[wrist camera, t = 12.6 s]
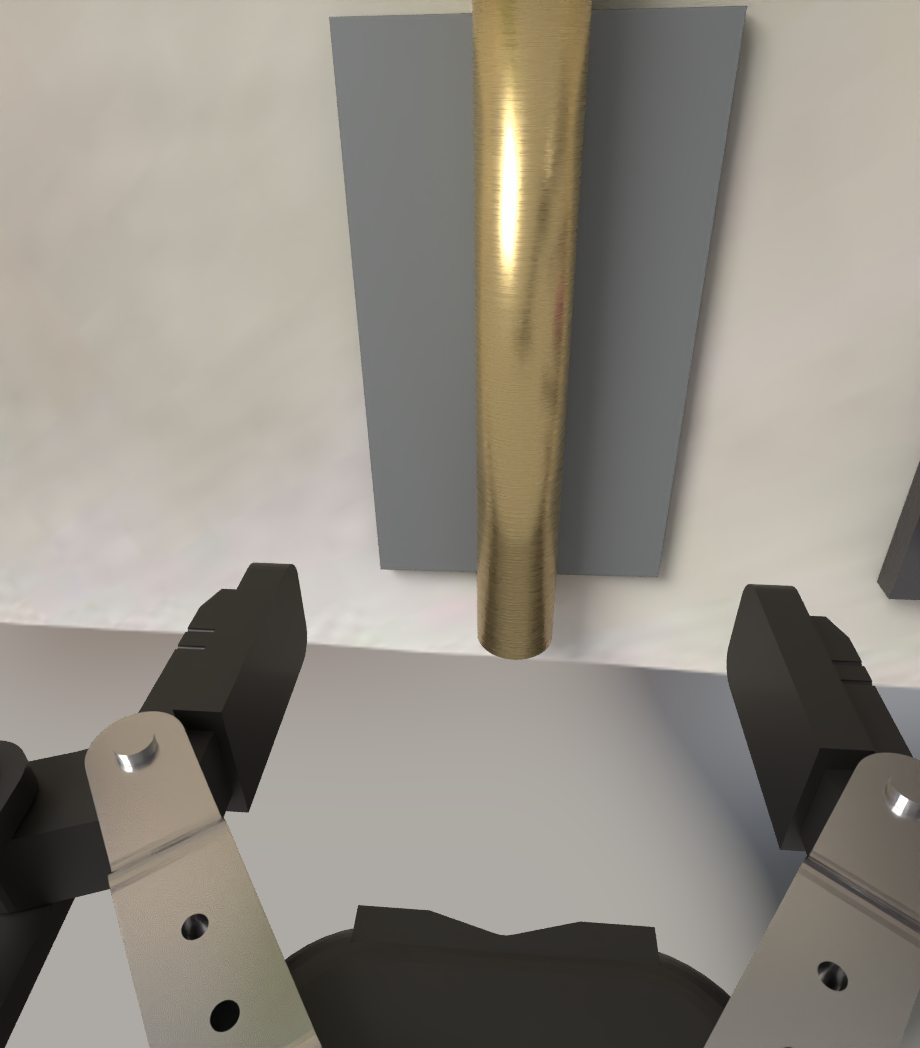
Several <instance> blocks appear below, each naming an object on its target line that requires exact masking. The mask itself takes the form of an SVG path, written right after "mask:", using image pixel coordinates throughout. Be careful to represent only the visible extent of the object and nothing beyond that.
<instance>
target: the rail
mask: <svg viewBox="0 0 920 1048" xmlns="http://www.w3.org/2000/svg"><path fill="white" fill-rule="evenodd" d="M472 8H473V133H474V257H475V382H476V506H477V631H478V639H479V642H480V644H481V645H482V646H483V647H484V648H485V649H486V650H487V651H488V652H490V653H491V654H493V655H496V656H498V657H501V658H505V659H514V660H517V659H527V658H531V657H534V656H536V655H539V654H540V653H542V652H543V651H545V650H546V649H547V648H548V646H549V645H550V643H551V640H552V628H553V612H554V597H555V581H556V565H557V549H558V533H559V517H560V501H561V485H562V469H563V453H564V438H565V422H566V406H567V390H568V374H569V358H570V342H571V326H572V310H573V294H574V278H575V263H576V247H577V231H578V215H579V199H580V183H581V167H582V151H583V135H584V119H585V104H586V88H587V72H588V56H589V40H590V24H591V8H592V0H472Z"/></svg>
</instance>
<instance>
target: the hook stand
mask: <svg viewBox="0 0 920 1048" xmlns="http://www.w3.org/2000/svg"><path fill="white" fill-rule="evenodd" d="M877 582H878V584H879V585H880V587H881V588H882V590H883V591H884V593H885V594H886V595H887V597H888V598H889V599H910V600H920V462H919V465H918V468H917V471H916V474H915V476H914V479H913V482H912V485H911V488H910V490H909V493H908V496H907V499H906V502H905V505H904V507H903V510H902V513H901V516H900V519H899V521H898V524H897V527H896V530H895V533H894V535H893V538H892V541H891V544H890V547H889V550H888V552H887V555H886V558H885V561H884V564H883V566H882V569H881V572H880V575H879V578H878V581H877Z"/></svg>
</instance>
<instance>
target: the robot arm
mask: <svg viewBox="0 0 920 1048" xmlns="http://www.w3.org/2000/svg"><path fill="white" fill-rule="evenodd" d="M306 645H307V628H306V621H305V615H304V609H303V603H302V597H301V591H300V585H299V579H298V573H297V570H296V567H295V566H294V565H293V564H275V563H252V564H251V565H250V566H249V567H248V569H247V571H246V573H245V575H244V576H243V578H242V580H241V582H240V584H239V586H238V588H237V590H236V589H221V590H220V591H219V592H218V593H216V594H215V595H214V596H213V597H211V598H210V599H209V600H208V601H207V602H205V603H204V604H203V605H202V606H200V608H199V610H198V611H197V613H196V615H195V616H194V618H193V620H192V622H191V623H190V625H189V627H188V632H185V634H184V635H183V637H182V639H181V640H180V642H179V644H178V649H175V651H174V653H173V654H172V656H171V658H170V659H169V661H168V663H167V665H166V667H165V668H164V670H163V671H162V673H161V675H160V677H159V678H158V680H157V682H156V683H155V685H154V687H153V689H152V690H151V692H150V694H149V695H148V697H147V699H146V701H145V702H144V704H143V706H142V708H141V709H140V711H139V712H138V713H137V714H133V715H130V716H127V717H124V718H122V719H120V720H118V721H116V722H115V723H113V724H111V725H110V726H108V727H107V728H106V729H104V730H103V731H102V732H101V733H100V734H99V735H98V736H97V737H96V738H95V739H94V741H93V742H92V743H91V745H90V747H89V748H88V749H85V750H82V751H78V752H73V753H69V754H63V755H59V756H54V757H49V758H44V759H39V760H34V761H29V762H28V760H27V758H26V756H25V754H24V753H23V751H22V749H21V748H20V747H19V746H17V745H16V744H14V743H11V742H7V741H0V1048H5V1046H6V1044H7V1041H8V1039H9V1037H10V1035H11V1033H12V1031H13V1029H14V1027H15V1024H16V1022H17V1020H18V1018H19V1016H20V1014H21V1012H22V1010H23V1007H24V1005H25V1003H26V1001H27V999H28V996H29V994H30V992H31V990H32V988H33V986H34V984H35V982H36V980H37V977H38V975H39V973H40V971H41V969H42V967H43V965H44V962H45V960H46V958H47V956H48V954H49V952H50V950H51V947H52V945H53V943H54V941H55V939H56V937H57V935H58V933H59V930H60V928H61V926H62V924H63V922H64V920H65V918H66V915H67V913H68V911H69V909H70V907H71V905H72V903H73V901H74V898H75V897H79V896H83V895H87V894H91V893H95V892H99V891H103V890H107V889H110V890H111V895H112V899H113V903H114V906H115V910H116V915H117V918H118V922H119V926H120V930H121V934H122V939H123V943H124V946H125V951H126V954H127V959H128V962H129V966H130V970H131V974H132V978H133V982H134V987H135V991H136V994H137V998H138V1002H139V1006H140V1010H141V1014H142V1018H143V1022H144V1026H145V1030H146V1034H147V1038H148V1042H149V1046H150V1048H899V1046H900V1043H901V1040H902V1037H903V1034H904V1031H905V1028H906V1025H907V1023H908V1020H909V1016H910V1014H911V1011H912V1008H913V1005H914V1002H915V999H916V996H917V993H918V990H919V987H920V760H918V759H915V758H913V756H912V754H911V753H910V751H909V749H908V747H907V745H906V743H905V741H904V739H903V738H902V736H901V734H900V732H899V730H898V728H897V726H896V725H895V723H894V721H893V719H892V717H891V715H890V713H889V711H888V710H887V708H886V706H885V704H884V702H883V700H882V698H881V697H880V695H879V693H878V691H877V689H876V687H875V686H872V680H871V678H870V676H869V674H868V672H867V670H866V668H865V667H864V666H862V664H861V663H862V661H861V659H860V657H859V655H858V654H857V652H856V650H855V648H854V646H853V644H852V642H851V640H850V639H849V637H848V636H846V635H845V634H844V633H843V632H842V631H841V630H840V629H839V628H838V627H836V626H835V625H834V624H833V623H832V622H831V621H830V620H829V619H828V618H826V617H822V616H810V615H809V613H808V611H807V609H806V607H805V605H804V603H803V601H802V599H801V597H800V595H799V593H798V591H797V589H796V588H795V587H793V586H781V585H756V584H748V585H747V586H746V587H745V588H744V591H743V594H742V597H741V601H740V605H739V609H738V612H737V616H736V620H735V624H734V628H733V632H732V635H731V639H730V643H729V647H728V652H727V677H728V682H729V687H730V690H731V693H732V696H733V699H734V702H735V706H736V709H737V712H738V715H739V719H740V722H741V725H742V728H743V732H744V735H745V738H746V741H747V745H748V748H749V751H750V754H751V757H752V760H753V764H754V767H755V770H756V773H757V777H758V780H759V783H760V786H761V790H762V793H763V796H764V799H765V802H766V806H767V809H768V812H769V816H770V819H771V822H772V825H773V828H774V832H775V835H776V838H777V841H778V845H779V848H780V850H793V851H806V853H807V857H806V858H805V860H804V862H803V863H802V865H801V867H800V869H799V870H798V872H797V874H796V876H795V878H794V880H793V882H792V884H791V885H790V887H789V889H788V891H787V893H786V895H785V897H784V899H783V900H782V902H781V904H780V906H779V908H778V910H777V912H776V913H775V916H774V917H773V919H772V921H771V923H770V925H769V927H768V928H767V930H766V932H765V934H764V936H763V938H762V940H761V941H760V943H759V945H758V947H757V949H756V951H755V953H754V955H753V957H752V958H751V960H750V962H749V964H748V966H747V968H746V970H745V971H744V973H743V975H742V977H741V979H740V981H739V983H738V984H737V986H736V988H735V990H734V992H733V994H732V996H731V997H730V996H729V995H728V994H727V993H726V992H725V991H724V990H723V989H722V988H720V987H719V986H718V985H716V984H715V983H714V982H713V981H711V980H710V979H709V978H707V977H706V976H705V975H703V974H702V973H700V972H698V971H697V970H695V969H693V968H692V967H690V966H689V965H687V964H685V963H683V962H680V961H679V960H677V959H675V958H673V957H670V956H668V955H665V954H663V953H660V952H658V948H657V941H656V934H655V928H654V927H645V926H632V925H619V924H605V923H592V922H591V923H590V922H576V923H571V924H566V925H561V926H555V927H551V928H545V929H540V930H535V931H530V932H525V933H520V934H515V935H508V936H505V935H498V934H495V933H491V932H489V931H486V930H483V929H481V928H478V927H475V926H472V925H469V924H466V923H464V922H461V921H458V920H455V919H452V918H449V917H447V916H444V915H441V914H438V913H435V912H432V911H428V910H415V909H402V908H389V907H375V906H362V905H359V906H358V909H357V914H356V919H355V924H354V929H349V930H344V931H341V932H338V933H335V934H332V935H329V936H326V937H323V938H321V939H319V940H317V941H315V942H313V943H311V944H308V945H307V946H305V947H303V948H302V949H300V950H299V951H297V952H296V953H294V954H292V955H291V956H290V957H288V958H287V959H286V960H284V957H283V955H282V952H281V950H280V948H279V945H278V943H277V941H276V938H275V936H274V934H273V931H272V929H271V926H270V924H269V922H268V919H267V917H266V915H265V912H264V910H263V907H262V905H261V903H260V901H259V898H258V896H257V893H256V891H255V888H254V886H253V884H252V881H251V879H250V877H249V874H248V872H247V870H246V867H245V865H244V862H243V860H242V858H241V855H240V853H239V851H238V848H237V846H236V843H235V841H234V839H233V836H232V834H231V832H230V829H229V827H228V825H227V823H226V821H225V819H224V814H225V812H226V811H234V812H249V810H250V807H251V804H252V801H253V799H254V796H255V793H256V790H257V788H258V785H259V782H260V779H261V776H262V773H263V771H264V768H265V766H266V763H267V760H268V757H269V755H270V752H271V749H272V746H273V744H274V740H275V738H276V735H277V733H278V730H279V727H280V724H281V722H282V719H283V716H284V713H285V711H286V708H287V705H288V702H289V700H290V697H291V694H292V692H293V689H294V686H295V683H296V680H297V678H298V675H299V672H300V670H301V667H302V664H303V661H304V657H305V652H306Z"/></svg>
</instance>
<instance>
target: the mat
mask: <svg viewBox="0 0 920 1048" xmlns="http://www.w3.org/2000/svg"><path fill="white" fill-rule="evenodd" d="M746 9H747V6H725V7H687V8H650V9H612V10H591V24H590V40H589V56H588V72H587V88H586V104H585V119H584V135H583V151H582V167H581V183H580V199H579V215H578V231H577V247H576V263H575V278H574V294H573V310H572V326H571V342H570V358H569V374H568V390H567V406H566V422H565V438H564V453H563V469H562V485H561V501H560V517H559V533H558V549H557V565H556V574H566V575H602V576H638V577H658V573H659V567H660V561H661V554H662V548H663V541H664V535H665V528H666V522H667V516H668V509H669V503H670V496H671V490H672V484H673V477H674V471H675V464H676V458H677V452H678V445H679V439H680V432H681V426H682V419H683V413H684V407H685V400H686V394H687V387H688V381H689V375H690V368H691V362H692V355H693V349H694V342H695V336H696V330H697V323H698V317H699V310H700V304H701V298H702V291H703V285H704V278H705V272H706V265H707V259H708V253H709V246H710V240H711V233H712V227H713V221H714V214H715V208H716V201H717V195H718V188H719V182H720V176H721V169H722V163H723V156H724V150H725V144H726V137H727V131H728V124H729V118H730V111H731V105H732V99H733V92H734V86H735V79H736V73H737V67H738V60H739V54H740V47H741V41H742V34H743V28H744V22H745V15H746ZM329 20H330V31H331V42H332V52H333V63H334V74H335V85H336V95H337V106H338V117H339V127H340V138H341V149H342V159H343V170H344V181H345V192H346V202H347V213H348V224H349V234H350V245H351V256H352V266H353V277H354V288H355V299H356V309H357V320H358V331H359V341H360V352H361V363H362V373H363V384H364V395H365V406H366V416H367V427H368V438H369V448H370V459H371V470H372V480H373V491H374V502H375V513H376V523H377V534H378V545H379V555H380V566H381V569H388V570H424V571H459V572H477V506H476V382H475V257H474V133H473V13H462V14H424V15H386V16H349V17H329Z"/></svg>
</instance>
